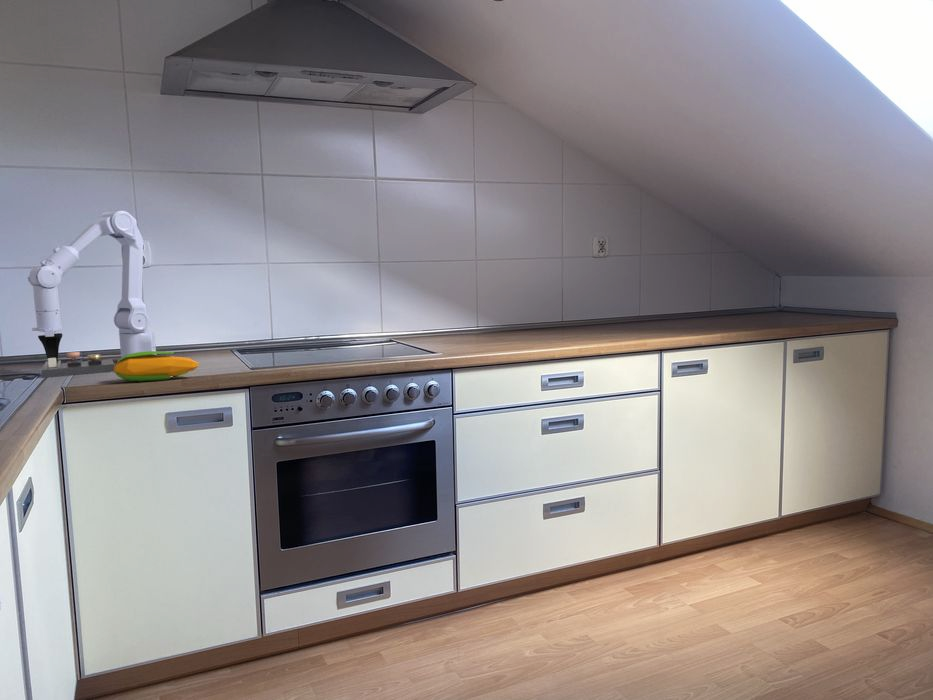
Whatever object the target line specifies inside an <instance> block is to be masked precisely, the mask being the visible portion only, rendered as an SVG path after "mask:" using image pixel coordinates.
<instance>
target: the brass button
mask: <svg viewBox="0 0 933 700" xmlns="http://www.w3.org/2000/svg"><path fill="white" fill-rule="evenodd" d="M101 356H102V355H101V353H95V354H93V353H92V354H87V361H88V360H93V361H96V360H98V359H101V360H102V357H101Z"/></svg>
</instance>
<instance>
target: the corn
mask: <svg viewBox="0 0 933 700" xmlns="http://www.w3.org/2000/svg"><path fill="white" fill-rule="evenodd" d="M174 353H175V352H172V351H162V350H161V351H158V350H156V351H148V352H137V353H133V354H128V355H126V356H124V357H123V358H119V359H118V360H117V361H116V362H115V364H114V371H113V373H114V374H115V375H116V376H117V377H119V378H121V379H122V380H125V381H128V382H134V381H139V382H156V381H164V380H169V379H171V378H172V377H170V376H176V377H179V376H183V375H185V374H188V373H189V372H191V371H195V370H196V369H197V368H198V367H199V365H200V363H199V362H197V361H195V360H193V359H191V358H190V357H180V356H173V355H171V354H174ZM154 354H156V355H154ZM159 354H160V355H159ZM162 354H163V355H162ZM165 354H168V355H165ZM169 354H170V355H169Z"/></svg>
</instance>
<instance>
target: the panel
mask: <svg viewBox="0 0 933 700" xmlns="http://www.w3.org/2000/svg"><path fill="white" fill-rule="evenodd" d="M114 366H115V364H114V361H113V359H111V358H109V359H102V358H101V359H98V360H96V361H93V360H88V359H87V361H85V360H84V361H82V360H71V361H67V362H63V363H62V360H57V367H49V365H48V360H47V361H45V363H44V364H42V367H41V377H42V378H43V379H44V378H53V377H54V378H56V377H67V376H75V375H76V376H77V375H87V374H88V375H89V374H100V373H99V372H102V373H111V371H113V372H114Z"/></svg>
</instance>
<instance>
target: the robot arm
mask: <svg viewBox="0 0 933 700" xmlns="http://www.w3.org/2000/svg"><path fill="white" fill-rule="evenodd" d="M137 221H138V220H137V219H136V218H135V217H134V216H132V215H131V213H129V212H127V211H126V210H118V211H114V212H113V211H112V212H110V211H107V212H103V213H101V214H100V215H99V216H98V217H97V218H95V219H93V220H92V221H91V223H90V224H88V226H87V227H86V228H84V230H83V231H81V233H80V234H79V235H78V236H77V237H76V238H75V239H74V240H73V241H72V242H71V243H70V244H69V245H61V246H59V247H55V248H54V249H53V250H52V251H53V253H52V254H51V255H50V256H48V257H47V258H45V259H44V260H43V259H42V260H41V261H40V262H39V264H40V266H35V267H34V268H32V269H31V270H30V271H29V275H28V277H27V281H28V283H29V284H30V285H31V286H32V288H33V289H32V290H33V298H34V299H33V300H34V301H33V302H34V310H35V311H34V312H35V319H36V327H32V328H31V330H32V332H36V331H37V332H40V333H41V332H42V333H44V334H43V335H37V338H38V340H39V341H40V342H41V344H42V346H43V349H44V352H45V355H46V358H47V359H48V358H56V362H58V361H59V360H58V359H59V351H60V350H59V349H60V343H61V340H62V338H63V333H61V332H58V331H61V330H63V329H64V328H63V325H62V315H61V306H60V298H59V290H58V285H60V284H61V281H62V277H64V275H65V274H67V273H68V272H69V271H70V270H71V269H72V268H73V267H74V266H75V265H77V263H78V262H80V254H81V253H82V252H83V251H85V250H86V249H87V248H88V247H90V246H91V245H92V244H93V243H94V242H95V241H97V240H98V239H99V238H101V237H104V236H110V237H111V238H114V239H115V240H116V241H117V242H118V243H120V245H121V246H122V267H121V268H122V271H121V273H122V275H121V299H120V300H119V302H118V304H117V309H116V313H115V314H114V317H113V323H114V325H115V326H116V328H118V335H119V347H120V348H119V349H120V357H121V358H123V357H124V356H126V355H128V354H133V353H137V352H148V351H157V348H156V338H155V337H156V336H155V333H154V332H153V331H147V328H148V326H149V324H150V317H149V315H148V312H147V306H146V304H145V303H144V302H143V300H142V299H143V297H142V296H143V273H144V272H143V271H144V270H143V269H144V267H143V266H144V238H143V237H142V234H141V232H140V229H139V228H138V225H137V224H138V223H137ZM57 332H58V333H57ZM154 355H157V354H154ZM121 358H120V359H121Z"/></svg>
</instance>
